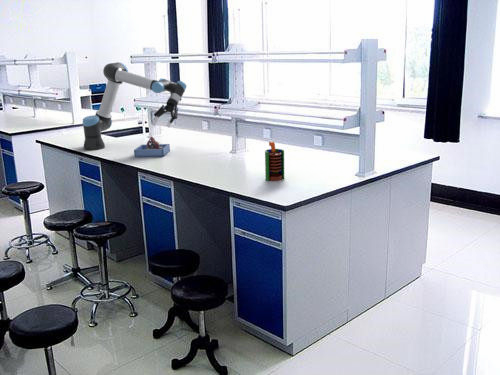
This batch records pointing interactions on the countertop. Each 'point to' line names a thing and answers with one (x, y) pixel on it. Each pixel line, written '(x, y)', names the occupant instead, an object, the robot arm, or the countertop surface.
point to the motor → (274, 163)
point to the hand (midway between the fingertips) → (160, 125)
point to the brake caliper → (153, 144)
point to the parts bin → (152, 151)
